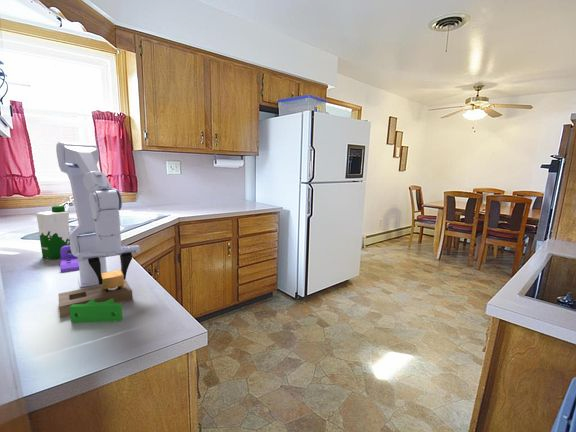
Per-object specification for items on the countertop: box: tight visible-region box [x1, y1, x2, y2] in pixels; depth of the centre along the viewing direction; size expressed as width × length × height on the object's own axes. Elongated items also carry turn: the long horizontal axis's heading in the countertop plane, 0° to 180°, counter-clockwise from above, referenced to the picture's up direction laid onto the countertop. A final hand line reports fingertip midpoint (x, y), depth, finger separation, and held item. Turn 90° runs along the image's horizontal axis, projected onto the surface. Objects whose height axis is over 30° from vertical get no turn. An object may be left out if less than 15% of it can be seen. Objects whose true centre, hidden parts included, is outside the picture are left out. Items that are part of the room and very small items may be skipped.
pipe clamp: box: [69, 299, 124, 324], centre depth 70 cm, size 11×4×5 cm, turn 96°
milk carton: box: [35, 205, 72, 260], centre depth 114 cm, size 9×9×20 cm
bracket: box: [59, 245, 79, 273], centre depth 105 cm, size 12×7×7 cm, turn 37°
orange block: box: [101, 269, 124, 292], centre depth 80 cm, size 5×5×6 cm
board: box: [58, 280, 134, 318], centre depth 78 cm, size 9×16×3 cm, turn 129°
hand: (112, 281), depth 80 cm, fingers closed on orange block, 5 cm apart
